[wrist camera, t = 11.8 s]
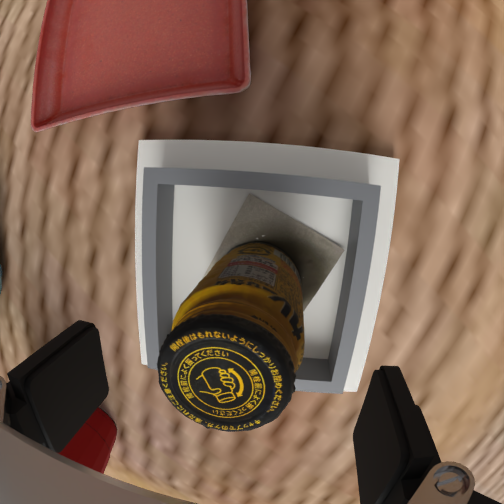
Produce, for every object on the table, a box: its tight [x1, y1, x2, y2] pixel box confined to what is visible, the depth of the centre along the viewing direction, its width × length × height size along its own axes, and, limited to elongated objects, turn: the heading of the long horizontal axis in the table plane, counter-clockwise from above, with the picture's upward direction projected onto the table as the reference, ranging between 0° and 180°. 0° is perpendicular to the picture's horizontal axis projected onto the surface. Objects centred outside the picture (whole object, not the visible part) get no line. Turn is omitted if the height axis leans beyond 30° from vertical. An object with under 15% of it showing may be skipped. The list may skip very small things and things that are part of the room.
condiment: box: [157, 193, 344, 432], centre depth 16 cm, size 7×8×12 cm
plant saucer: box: [31, 0, 251, 132], centre depth 19 cm, size 18×18×3 cm
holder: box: [135, 140, 399, 394], centre depth 22 cm, size 18×18×4 cm
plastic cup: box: [58, 408, 117, 474], centre depth 24 cm, size 11×11×12 cm
